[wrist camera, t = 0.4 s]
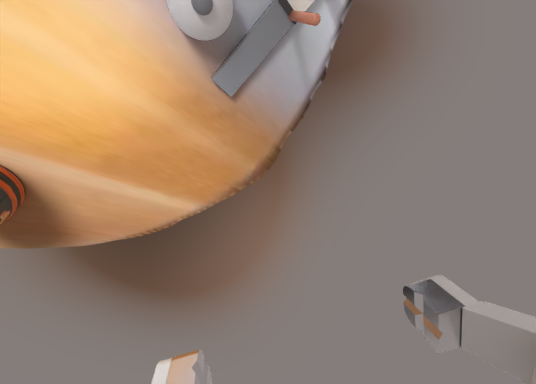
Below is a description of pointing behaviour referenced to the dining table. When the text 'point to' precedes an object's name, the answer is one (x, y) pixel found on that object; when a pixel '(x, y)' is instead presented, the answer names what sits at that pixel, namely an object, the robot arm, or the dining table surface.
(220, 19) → the white jar with knob
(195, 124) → the dining table surface
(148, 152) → the dining table surface
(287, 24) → the board
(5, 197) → the beer stein
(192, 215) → the dining table surface
